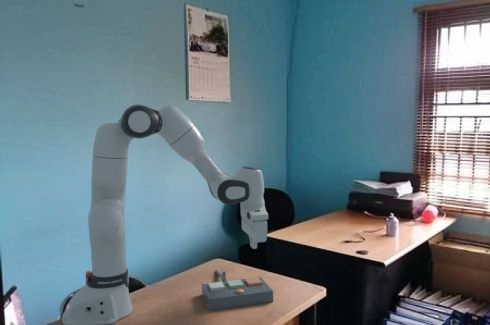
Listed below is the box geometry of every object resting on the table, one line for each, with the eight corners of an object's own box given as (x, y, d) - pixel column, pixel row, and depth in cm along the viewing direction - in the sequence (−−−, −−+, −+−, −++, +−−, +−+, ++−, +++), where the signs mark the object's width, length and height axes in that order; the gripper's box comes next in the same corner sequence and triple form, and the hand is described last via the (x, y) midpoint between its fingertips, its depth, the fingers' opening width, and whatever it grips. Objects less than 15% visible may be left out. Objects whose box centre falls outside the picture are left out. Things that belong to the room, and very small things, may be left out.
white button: (211, 296, 150) (211, 288, 149) (208, 291, 155) (208, 283, 154) (224, 294, 151) (224, 286, 151) (221, 289, 156) (221, 281, 156)
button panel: (209, 310, 143) (209, 297, 143) (202, 294, 157) (201, 282, 156) (273, 301, 149) (273, 289, 149) (260, 287, 163) (260, 275, 162)
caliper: (226, 289, 162) (226, 273, 161) (223, 289, 162) (223, 273, 161) (217, 271, 182) (217, 257, 181) (215, 271, 182) (215, 257, 181)
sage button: (230, 294, 152) (230, 286, 151) (227, 288, 156) (226, 281, 156) (243, 292, 153) (243, 284, 153) (240, 287, 158) (239, 279, 157)
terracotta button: (248, 291, 154) (248, 283, 153) (245, 286, 158) (245, 278, 158) (262, 290, 155) (261, 282, 155) (257, 285, 160) (257, 277, 159)
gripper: (237, 206, 163) (238, 241, 164) (252, 217, 143) (253, 256, 145) (252, 204, 165) (253, 239, 166) (270, 215, 145) (270, 254, 146)
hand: (253, 247), depth 155 cm, fingers closed
